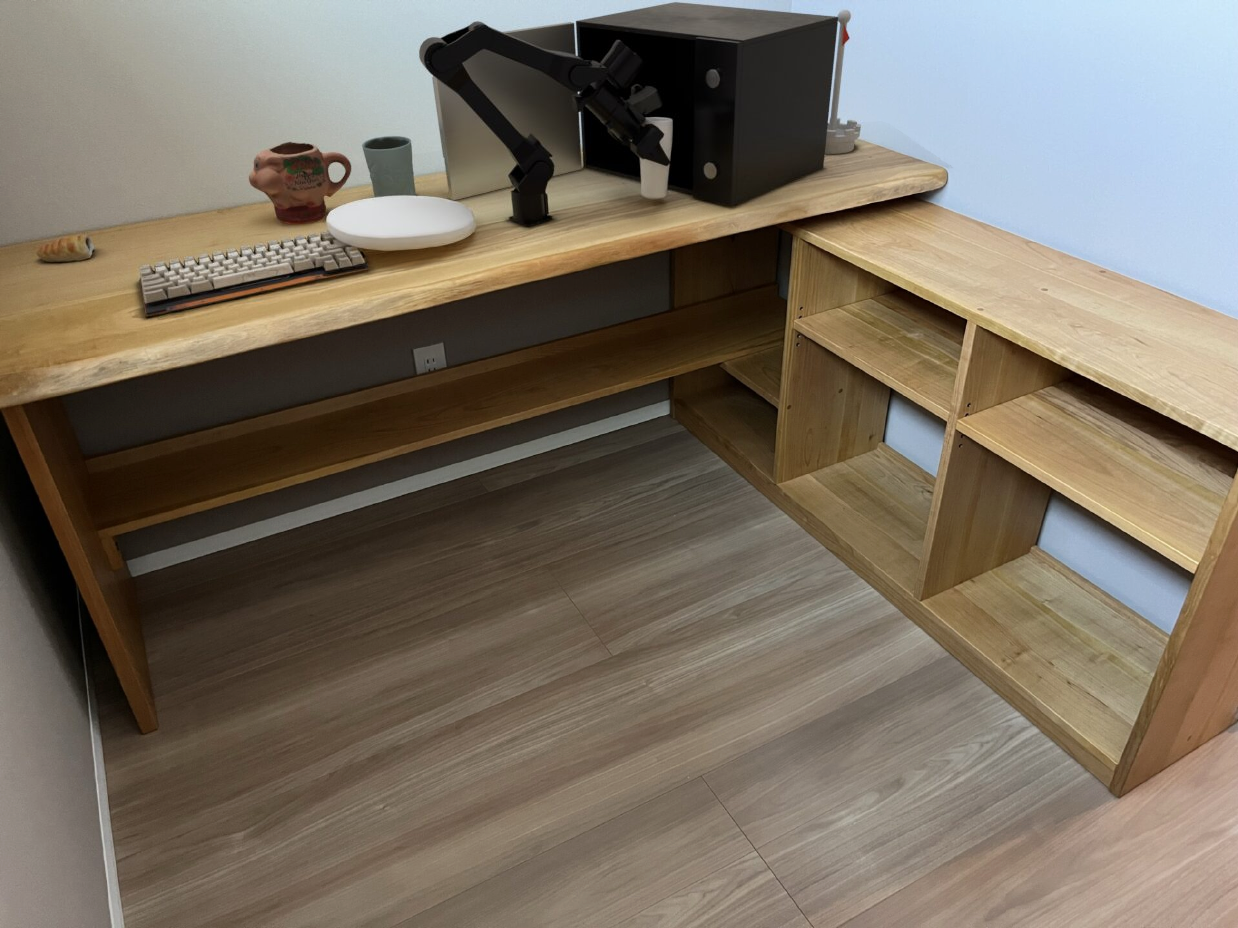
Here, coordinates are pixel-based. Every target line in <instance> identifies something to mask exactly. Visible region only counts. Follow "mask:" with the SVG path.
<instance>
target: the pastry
mask: <svg viewBox="0 0 1238 928" xmlns="http://www.w3.org/2000/svg"><path fill="white" fill-rule="evenodd" d="M93 250H95V243H94V242H93V241H92V239H91V238H90V236H89V235H88V234H86V233H83V234H80V235H68V236H63V237H62V238H56V239H55V240H53V241H51V242H49V243H47V244H45V245H43V246H41V247H39V249H38V250H36V252H35V254H36V255H37V257H38V258H39V259H40V260H42V261H44V262H50V263H53V262H54V263H55V262H56V263H57V262H58V263H60V262H73V261H84V260H86V259H90V258H91V257H92V255H93Z"/></svg>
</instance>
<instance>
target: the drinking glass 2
mask: <svg viewBox="0 0 1238 928" xmlns="http://www.w3.org/2000/svg"><path fill="white" fill-rule="evenodd" d="M645 124H653V125H655V126H657V127H658V128H659V129H660V130H661V131H662V132H663V133H664V137H663V138H662V139H661V141H660V145H661V147H662V149H663V150H664V152H665V154H666V155H667V157H668V159H669V161H670V157H671V149H672V137H673V120H672V119H670V118H660V117H649V118H646V120H645V121H644V122H643V124H641V126H643V127H644V126H645ZM639 132H640V131H639ZM669 166H670V164H669V165H668V166H664V165H661V164H658V163H655V162H652V161H649V160H646V159H641V158H640V170H641V182H640V185H641V186H640V194H641V196H642V197H643V198H646V199H653V200H656V199H663V198H665V197H667V194H668V189H667V185H668V175H669Z"/></svg>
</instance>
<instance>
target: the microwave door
mask: <svg viewBox="0 0 1238 928" xmlns="http://www.w3.org/2000/svg"><path fill="white" fill-rule="evenodd" d="M575 31H576V28H575V22H572V21H567V22H561V23H555V24H554V23H553V24H547V25H540V26H534V27H527V28H520V29H513V30H506V31H502V32H503V33H506V34H508V35H511V36H513V37H515V38H518V39H520V40H523V41H525V42H528V43H530V44H533V45H535V46H537V47H540V48H542V49H547V50H554V51H560V52H566V53H571V54H574V55H576V56H577V52H576V51H577V47H576V32H575ZM462 64H463V65H464V67H465V69H466V71H467V72H468V74H469V76H470V77H471V79H472V81H473V82H474V83H475V84H476V85H477V86H478V87H479V88H480V90H481V91H482V92H483V93H484V94H485V95H486V96H487V97H488V98H489V100H490V101H491V102H492V103H493V104H494V105H495V106H496V107H497V109H498V110H499V111H500V112H501V113H502V114H503V115H504V116H505V117H506V119H507V120H508V121H509V122H510V123H511V124H512V125H513V126H514V127H515V129H516V130H517V131H518V132H519V133H520V134H521V135H523V136H524V137H525V138H527V137H528V136H529V134H530V133H532V134H533V135H534V136H535V137H536V138H537V139H538V140H539V141H540V143H541V145H542V146H543V147H544V148H545V149H546V150H547V151H548V152H549V153H550V154H552V157H549V158H550V159H551V160H552V162H553V163H554V166H555V167H554V174H553V177H556V176H560V175H564V174H567V173H572V172H576V171H580V170H583V162H582V143H581V124H580V112H578V111H576V110H575V109H574V108H573V107H572V105H573V98H572V95H576V94H579V92H574V91H572V90H570V89H568V88H567V87H565V86H563V85H562V84H560V83H559V82H557V81H556V80H554V79H552V78H551V77H549V76H548V75H546V74H545V73H543V72H541V71H539V70H537V69H534V68H532V67H529V66H526V65H524V64H521V63H519V62H516V61H514V60H511V59H509V58H506V57H504V56H501V55H499V54H496V53H494V52H491V51H489V50H486V49H483V50H481V51H479V52H478V53H476V54H475V55H473V56H472V57H471V58H469V59H468V60H466V61H465V62H463V63H462ZM431 79H432V85H433V86H432V87H433V94H434V101H435V109H436V115H437V123H438V131H439V137H440V145H441V152H442V158H443V160H444V167H445V173H446V174H445V175H446V182H447V189H448V196H449V197H448V198H449V200H452V201H457V200H461V199H465V198H469V197H474V196H477V195H482V194H486V193H491V192H494V191H498V190H503V189H507V188H510V187H514V185H512V183H511V181H510V179H509V177H508V175H509V173H510V172H511V171H512V170H513V168H514V167H515V166H516V162H515V161H514V159H513V157H512V156H511V154H510V152H509V151H508V149H507V147H506V146H505V145H504V143H503V142H502V141H501V140H500V139H499V138H498V137H497V136H496V135H495V134H494V133H493V132H492V130H491V129H490V128H489V127H488V126H487V125H486V124H485V123H484V122H483V121H482V120H481V118H480V117H479V116H478V115H477V114H476V113H475V112H474V111H473V110H472V109H471V108H470V107H469V105H468V104H467V103H466V102H465V101H464V100H463V99H462V98H461V97H460V96H459V95H458V94H457V93H456V92H454V91H453V90H452V89H450V88H449V87H447V86H446V85H445V84H443V83H442V82H441V81H440V80H438V79H437V78H436V77H434V76H433V75H432V77H431Z"/></svg>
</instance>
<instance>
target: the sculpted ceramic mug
mask: <svg viewBox="0 0 1238 928" xmlns="http://www.w3.org/2000/svg"><path fill="white" fill-rule="evenodd" d="M334 163H338V164H340V165H341V166H342V167H343V168H344V172H345V173H344V175H343V176H342V178H341V179H340V180H339V181H337V182H336V181H335V182H334V181H332V180H331V178H330V173H329V168H330V166H331V165H332V164H334ZM351 173H352V164H351V161H350V160H349V158H348V157H347V156H346V155H344V154H342V153H340V152H335V151H330V152H321V151H320V149H319V148H318V146H317V145H315V144H312V143H306V142H294V141H293V142H292V141H287V142H284V143H280V144H277V145H274V146H272V147H270V148H267V149H265V150H261V151H259V152H258V153H257V154H256V155H255V157H254V160H253V169H252V171H251V172H250V173H249V175H248V181H249V184H250V186H252V187H253V189H256V190H258V191H260V192H261V193H264V195H266V196H267V197H268V199H269V200H270V201H271V202H272V204H273V206H274V207H273V209H274V213H275V216H276V218H277V220H279V221H280V222H283V223H286V224H289V225H290V224H291V225H294V224H295V225H297V224H298V225H299V224H308V223H314V222H317V221H320V220H322V219H323V218H324V217H325V215H326V212H327V206H326V202H325V201H326V200H325V197H329V198H331V197H333V196H334V195H335V194H336V193H337V192H338V191H340V190H341V189H342V188H343V186H344V185H346V183H347V181H348V179H349V178H350V176H351Z"/></svg>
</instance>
